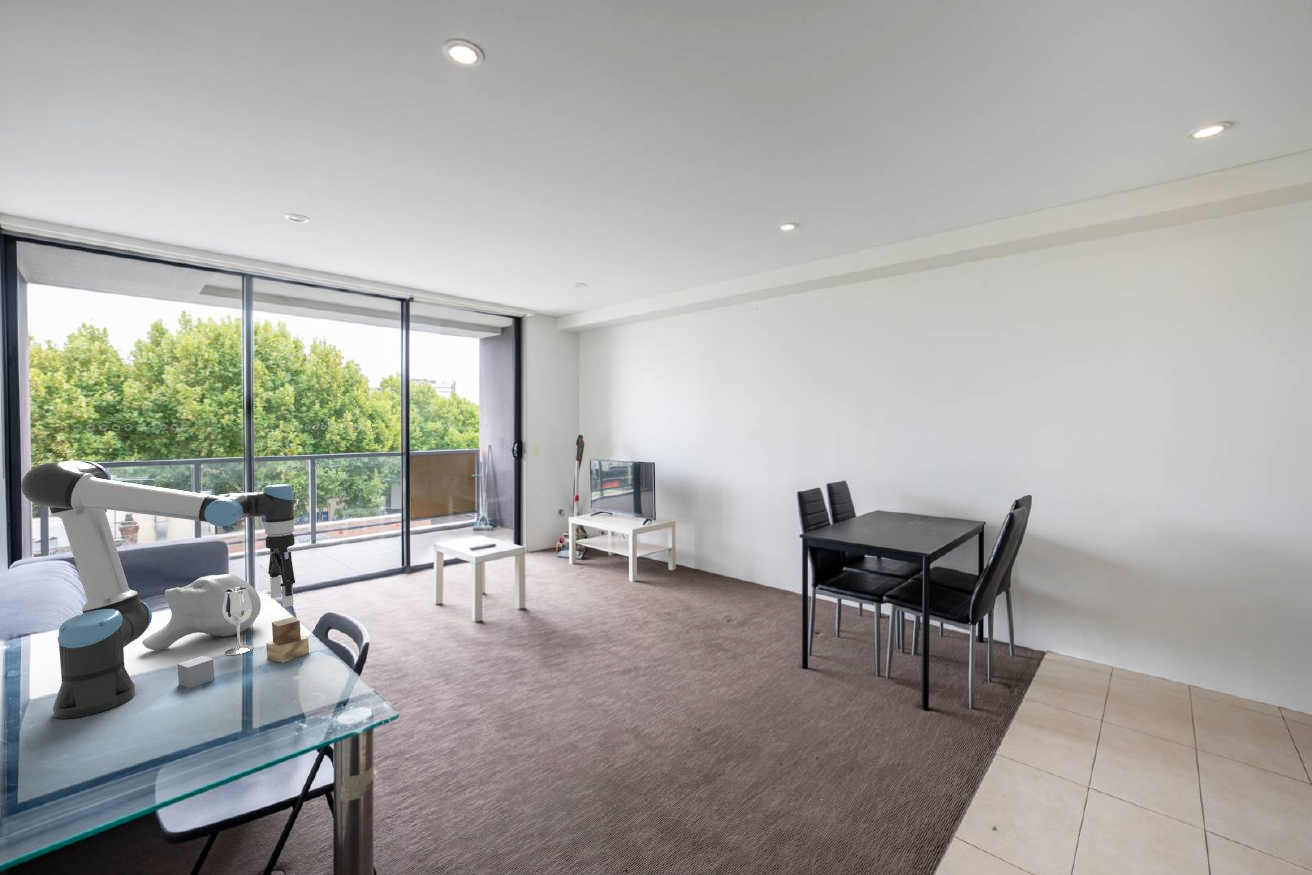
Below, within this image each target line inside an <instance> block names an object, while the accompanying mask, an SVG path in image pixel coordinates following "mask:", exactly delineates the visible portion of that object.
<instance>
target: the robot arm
mask: <svg viewBox="0 0 1312 875" xmlns="http://www.w3.org/2000/svg"><path fill="white" fill-rule="evenodd" d="M20 488H21V489H20V490H21V491H22V494H23V495H24V497H25V498H26V499H27V500H28V501H29V502H31V503H33V504H35V505H37V506H41V507H47V508H49V510H50V514H51V515H52V516H54V517H56V518H59V519H61V521H62V524H63V527H64V530H65V534H66V537H67V540H68V543H69V546H70V549H71V552H72V556H73V558H74V559H73V560H74V562H75V566H76V568H77V571H78V576H79V577H80V581H81V585H82V587H83V590H84V594H85V596H86V600H87V601H86V603H85V604H84V605H83V607H82V608H81V611H82V613H81V614H79V615H75V616H72V617H71V618H69V619H67V620H66V621H64V622H63V623H62V624H61V625H60V626H59V627H58V637H57V643H58V649H59V650H58V651H59V660H60V661H59V663H60V674H61V675H60V676H61V684H60V686H59V690H58V693H57V695H56V697H55V701H54V703H53V707H52V711H53V713H52V714H53V717H54V718H55V719H60V720H63V719H67V720H68V719H69V720H70V719H77V718H83V717H86V716H91V715H95V714H97V713H98V714H99V713H101V712H104V711H108V710H110V709H112V708H115V707H118V706H121V705H122V704H124V703H127V702H128V701H129V700H131V699H132V698H133V697H134V696H135V695H136V686H135V684H134V681H133V680H132V678H131V676H130V674H129V672H128V671H127V670H126V667H125V653H124V649H125V647H127V646H128V645H129V644H131V643H133V642H134V641H136V640H138V639H139V638H140V637H141V636H142V635H143V634H144V633H145V632H146V631H147V629H149V627H150V625H151V623H152V620H153V613H152V609H151V607H150V606H149V604H147V603H146V602H144V601H143V600H141V598H140V595H139V592H138V591H136V590H133V589H131V588H130V587H129V584H128V582H127V581H128V580H127V578H126V574H125V572H124V568H123V565H122V561H121V558H120V555H119V551H118V549H117V545H116V542H115V539H114V536H113V533H112V529H111V526H110V523H109V519H108V516H107V513H106V510H109V511H118V512H126V513H133V514H134V513H135V514H143V515H150V516H158V517H163V518H164V517H167V518H174V519H181V520H189V521H196V522H197V521H198V522H204V523H209V524H210V525H212V526H215V527H227V526H231V525H233V524H235V523H237V522H239V521H240V520H241V519H244V518H256V517H264V534H265V535H266V536H265V538H264V539H265V548H266V549H269V550H270V552H269V563H268V571H267V573H268V575H269V578H270V598H271V599H275V598H280V597H281V600H282V601H281V602H282V603H281V604H282V605H281V606H282V608H287V607H291V606H294V584H296V578H295V574H294V572H295V571H294V566H293V561H292V560H293V559H292V552H291V551H288V548H289V547H293V546H294V545H295V542H296V540H295V537H296V536H295V533H293V532H294V531H295V525H296V524H297V522H296V521H295V517H294V515H295V512H294V510H295V509H294V508H295V507H294V505H295V502H294V501H295V498H294V490H293V486H292V485H290V484H287V483H286V484H285V483H284V484H282V483H281V484H269V485H265V486H264V487H263V491H260V492H242V493H241V492H240V493H239V492H235V493H233V492H230V493H222V494H218V495H214V494H213V495H212V494H211V495H210V494H206V493H198V492H194V491H192V492H191V491H186V490H185V491H184V490H179V489H172V488H165V487H158V486H152V485H144V484H137V483H130V482H123V481H116V480H112V476H111V475H110V472H109V471H108V470H107V469H106V468H105V467H103V466H102V465H100V464H98V463H96V462H93V461H88V460H81V459H80V460H79V459H76V460H69V461H68V460H67V461H59V462H56V461H55V462H48V463H47V462H46V463H43V464H39V465H37V466H35V467H33V468H32V469H29V471H28V472H27V473H26V474H25V475H24V476H23V478H22V481H21V486H20Z"/></svg>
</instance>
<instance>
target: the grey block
mask: <svg viewBox="0 0 1312 875" xmlns="http://www.w3.org/2000/svg"><path fill="white" fill-rule="evenodd" d="M214 666H215V665H214V659H213V658H211V657H208V656H207V655H206V656H205V655H200V656H198V657H195V658H190V659H188V660H185V661H182V662H179V663H177V676H178V677H177V679H178V685H179V686H181V687H183V688H187V689H192V688H195V687H197V686H200V685H204V684H206V683H208V682H211V681H214V680H215V667H214Z"/></svg>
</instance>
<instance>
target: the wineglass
mask: <svg viewBox="0 0 1312 875" xmlns="http://www.w3.org/2000/svg"><path fill="white" fill-rule="evenodd" d="M251 613H252V604H251V600H250V597H249V594H248V591H247V588H246V587H237V588H232V589H228V590H226V591H225V595H224V599H223V605H222V618H223V620H224V621H225V622H227V623H229V624H231V625H235V626H236V629H237V634H236V636H237V637H236V638H237V645H236V646H234V647H232V648H229V649H227V650H226V651H225V652H224V655H226V656H236V655H241V654H245V653H248V652H250V651H252V650H253V649H254V645H251V644H246V645H243V644H242V643H241V632H240V624H242V623H243V622H245V621H246V620H247V619H248V618H249V617H250V615H251Z"/></svg>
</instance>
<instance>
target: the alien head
mask: <svg viewBox="0 0 1312 875" xmlns="http://www.w3.org/2000/svg"><path fill="white" fill-rule="evenodd" d="M237 587H246V588H247V591H248V594H249V597H250V600H251V604H252V613H251V615H250V617H249V618H248V619H247V620H246V621H245V622H243V623H242V624H240V633H242V632H244V631H246V630H247V629H248V628H249V627H251V626H252V625H253V624H254V622H255V621H256V619H257V618H258V616H259V614H260V612H261V607H262V602H261V598H260V595H259V594H258V592H257V590H256V589H255V588H254V587H253V586H252V585H251V584H249V583H248V582H247V581H246V580H244V579H243V578H241V577H239V576H237V575H235V574H231V573H225V574H210V575H206V576H201V577H199V578H197V579H196V580H194V581H193V582H191V583H190V584H188V585H185V586H183V587H178V586H176V587H175V588H174V587H172V588H170V589H169V588H168V589H165V591H164V597H165V599H166V602H167V604H168V607H169V609H170V612H171V618H170V620H169V622H168V623H167V624H166V625H165V626H164V627H162V628H161V629H159V630H158V631H156V632H154V633H152V634H151V635H149V636H147V637H146V638H144V639H143V640H142V645H143V646H144V647H145V648H146V649H148V650H151V651H165V650H168V648H170V647H171V646H172V645H173V644H174V643H175V642H177V641H178V640H180V639H182V638H184V637H186V636H188V635H191V634H197V633H198V634H199V633H200V634H206V635H209V636H213V637H214V636H215V637H224V638H225V637H231V636H235V635H237V629H236V626H235V625H231V624H229V623H227V622H225V621H224V620H223V618H222V605H223V599H224V595H225V591H226V590H228V589H232V588H237Z"/></svg>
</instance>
